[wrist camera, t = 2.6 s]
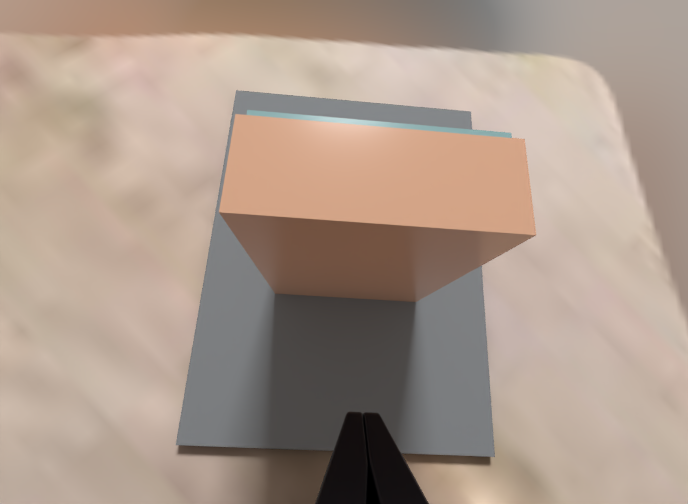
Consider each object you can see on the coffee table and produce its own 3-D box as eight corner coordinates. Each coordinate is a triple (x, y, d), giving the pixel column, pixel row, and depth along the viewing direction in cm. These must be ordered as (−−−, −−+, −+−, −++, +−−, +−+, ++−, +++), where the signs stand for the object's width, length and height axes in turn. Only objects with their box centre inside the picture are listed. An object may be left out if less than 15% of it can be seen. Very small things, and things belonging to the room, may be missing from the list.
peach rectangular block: (415, 301, 17) (536, 235, 8) (275, 293, 17) (218, 212, 7) (415, 248, 18) (523, 128, 9) (280, 239, 18) (236, 103, 8)
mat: (490, 454, 16) (494, 456, 16) (179, 442, 15) (175, 445, 15) (468, 115, 21) (470, 111, 21) (237, 95, 21) (236, 90, 20)
